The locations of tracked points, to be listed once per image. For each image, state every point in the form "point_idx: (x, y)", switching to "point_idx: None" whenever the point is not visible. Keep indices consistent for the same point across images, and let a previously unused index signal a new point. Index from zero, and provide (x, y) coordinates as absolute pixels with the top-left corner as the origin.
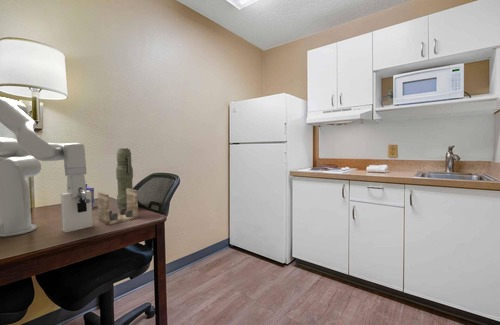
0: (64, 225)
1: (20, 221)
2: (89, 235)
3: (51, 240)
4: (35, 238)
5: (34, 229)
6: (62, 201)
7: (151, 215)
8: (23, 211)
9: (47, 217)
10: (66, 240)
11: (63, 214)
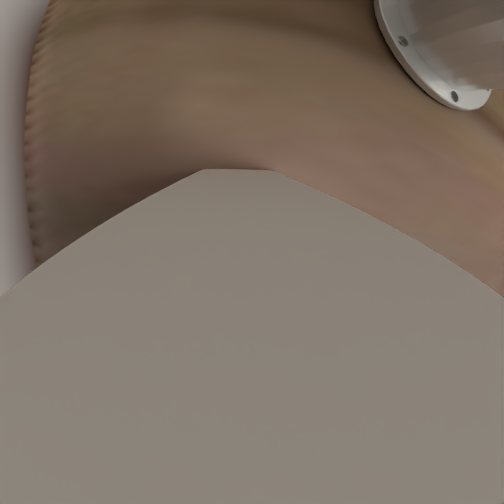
0: (209, 172)
1: (434, 4)
2: (52, 254)
3: (104, 88)
4: (224, 27)
5: (414, 80)
6: (249, 229)
7: None
8: (484, 3)
9: None
10: (50, 152)
11: (217, 180)
